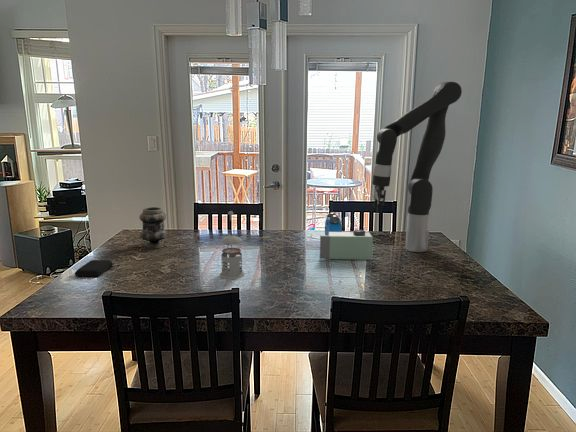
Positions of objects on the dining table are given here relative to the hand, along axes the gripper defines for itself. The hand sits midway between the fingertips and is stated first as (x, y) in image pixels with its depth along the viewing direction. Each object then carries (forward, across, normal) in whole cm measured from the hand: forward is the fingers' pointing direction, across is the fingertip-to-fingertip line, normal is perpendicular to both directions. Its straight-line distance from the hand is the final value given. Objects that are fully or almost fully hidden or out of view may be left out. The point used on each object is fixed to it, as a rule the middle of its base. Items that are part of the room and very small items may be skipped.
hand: (377, 210), depth 191 cm
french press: (+23, -34, +60) cm, 72 cm away
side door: (+19, -14, +14) cm, 28 cm away
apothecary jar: (+26, +1, +101) cm, 105 cm away
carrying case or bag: (+27, -34, +112) cm, 120 cm away
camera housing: (+20, -10, +12) cm, 25 cm away
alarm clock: (+20, +8, +18) cm, 28 cm away
